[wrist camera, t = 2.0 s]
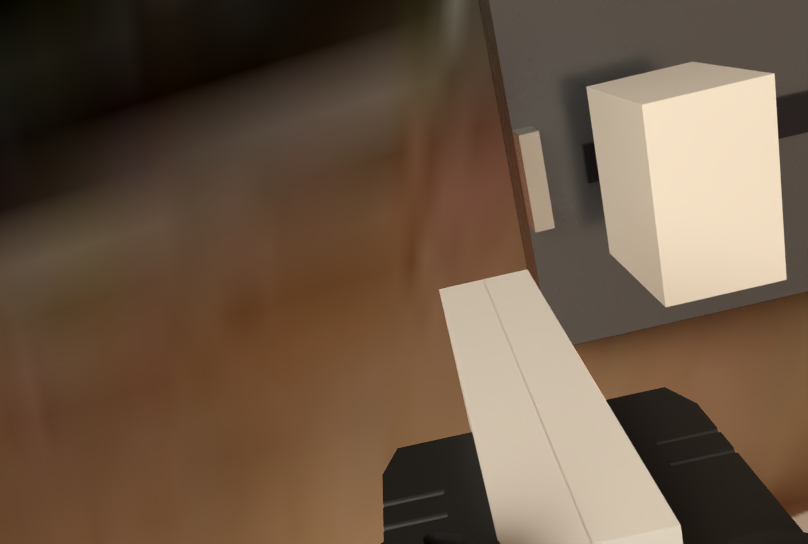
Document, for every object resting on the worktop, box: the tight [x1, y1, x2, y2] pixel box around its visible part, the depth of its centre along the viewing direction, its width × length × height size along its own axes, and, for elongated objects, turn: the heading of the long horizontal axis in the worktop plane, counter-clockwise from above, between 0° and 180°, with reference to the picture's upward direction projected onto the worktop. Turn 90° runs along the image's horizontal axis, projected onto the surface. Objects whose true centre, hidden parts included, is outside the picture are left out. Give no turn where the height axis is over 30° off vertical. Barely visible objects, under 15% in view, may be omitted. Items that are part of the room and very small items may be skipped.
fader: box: [586, 62, 787, 307], centre depth 20 cm, size 3×5×5 cm, turn 13°
